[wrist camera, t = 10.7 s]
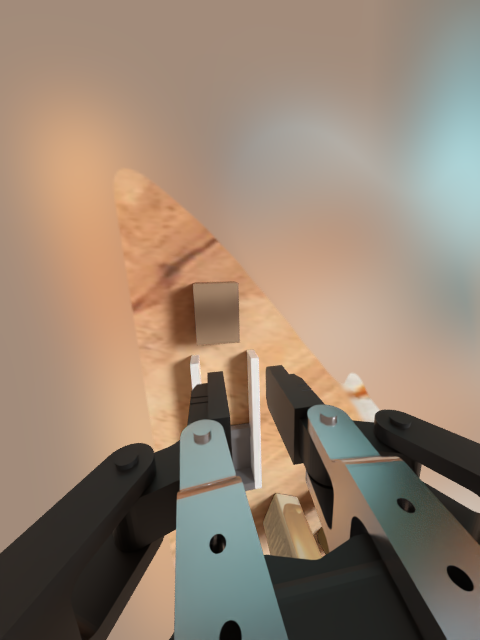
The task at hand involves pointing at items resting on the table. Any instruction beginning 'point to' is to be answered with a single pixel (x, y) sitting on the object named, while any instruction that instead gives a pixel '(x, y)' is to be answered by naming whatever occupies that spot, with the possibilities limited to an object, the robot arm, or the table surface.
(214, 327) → the walnut block
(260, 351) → the table surface
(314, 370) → the table surface
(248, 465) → the trap channel
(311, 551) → the skincare box
